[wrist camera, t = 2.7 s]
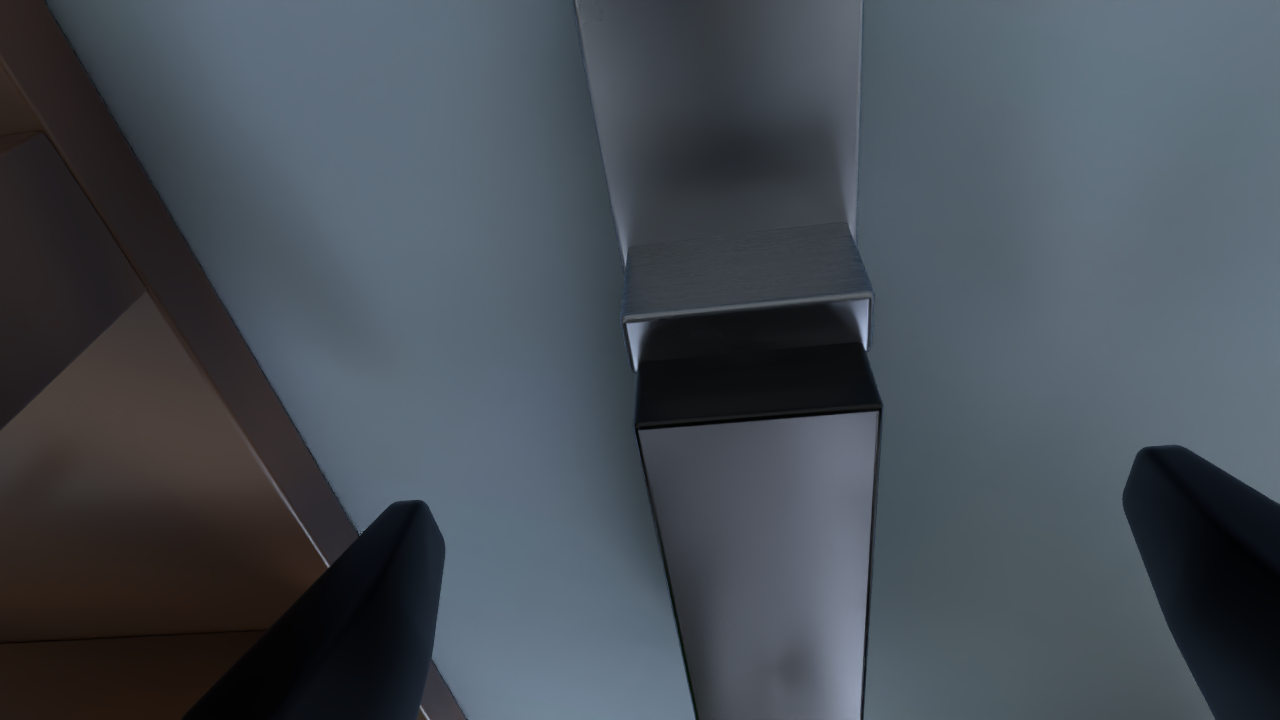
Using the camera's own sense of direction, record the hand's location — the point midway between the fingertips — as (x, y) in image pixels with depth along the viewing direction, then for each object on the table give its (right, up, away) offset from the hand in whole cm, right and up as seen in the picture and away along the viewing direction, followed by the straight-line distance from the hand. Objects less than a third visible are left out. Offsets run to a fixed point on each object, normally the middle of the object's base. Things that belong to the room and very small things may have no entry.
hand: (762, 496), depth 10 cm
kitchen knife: (0, +3, 0) cm, 3 cm away
